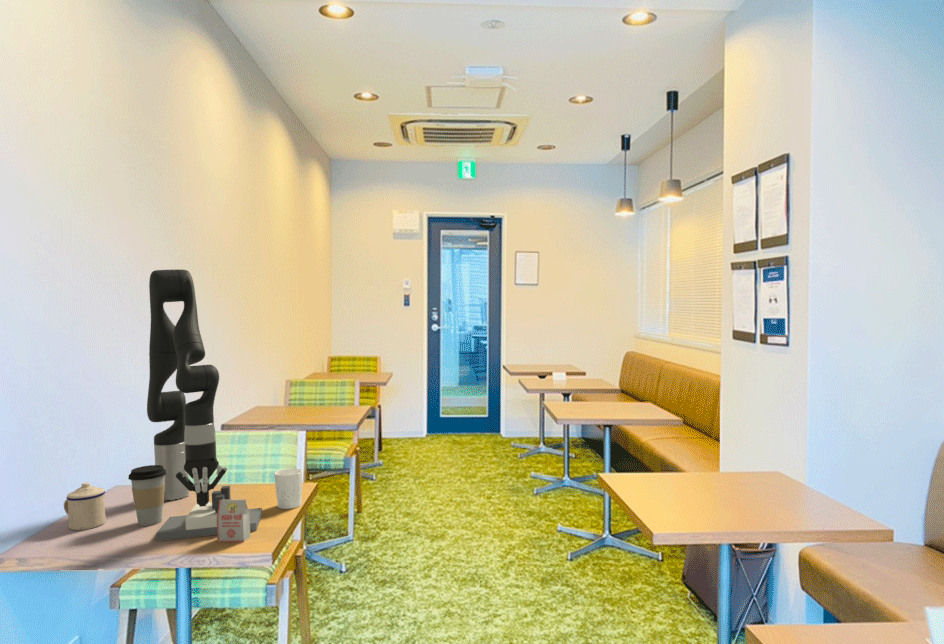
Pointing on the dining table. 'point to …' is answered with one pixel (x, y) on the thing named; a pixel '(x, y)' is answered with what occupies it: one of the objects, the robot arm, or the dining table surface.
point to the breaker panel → (180, 527)
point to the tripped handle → (214, 497)
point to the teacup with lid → (85, 507)
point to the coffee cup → (148, 493)
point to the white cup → (288, 488)
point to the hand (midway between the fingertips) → (203, 505)
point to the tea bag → (233, 521)
